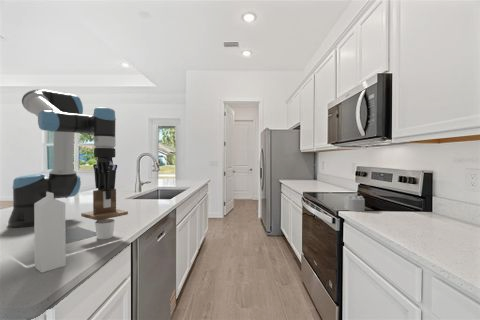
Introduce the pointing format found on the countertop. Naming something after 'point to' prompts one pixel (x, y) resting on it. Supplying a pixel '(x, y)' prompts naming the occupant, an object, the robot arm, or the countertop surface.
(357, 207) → the lumpy-topped squat cylinder
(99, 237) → the white grey-rimmed cup
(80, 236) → the mat
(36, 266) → the milk
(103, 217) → the board
